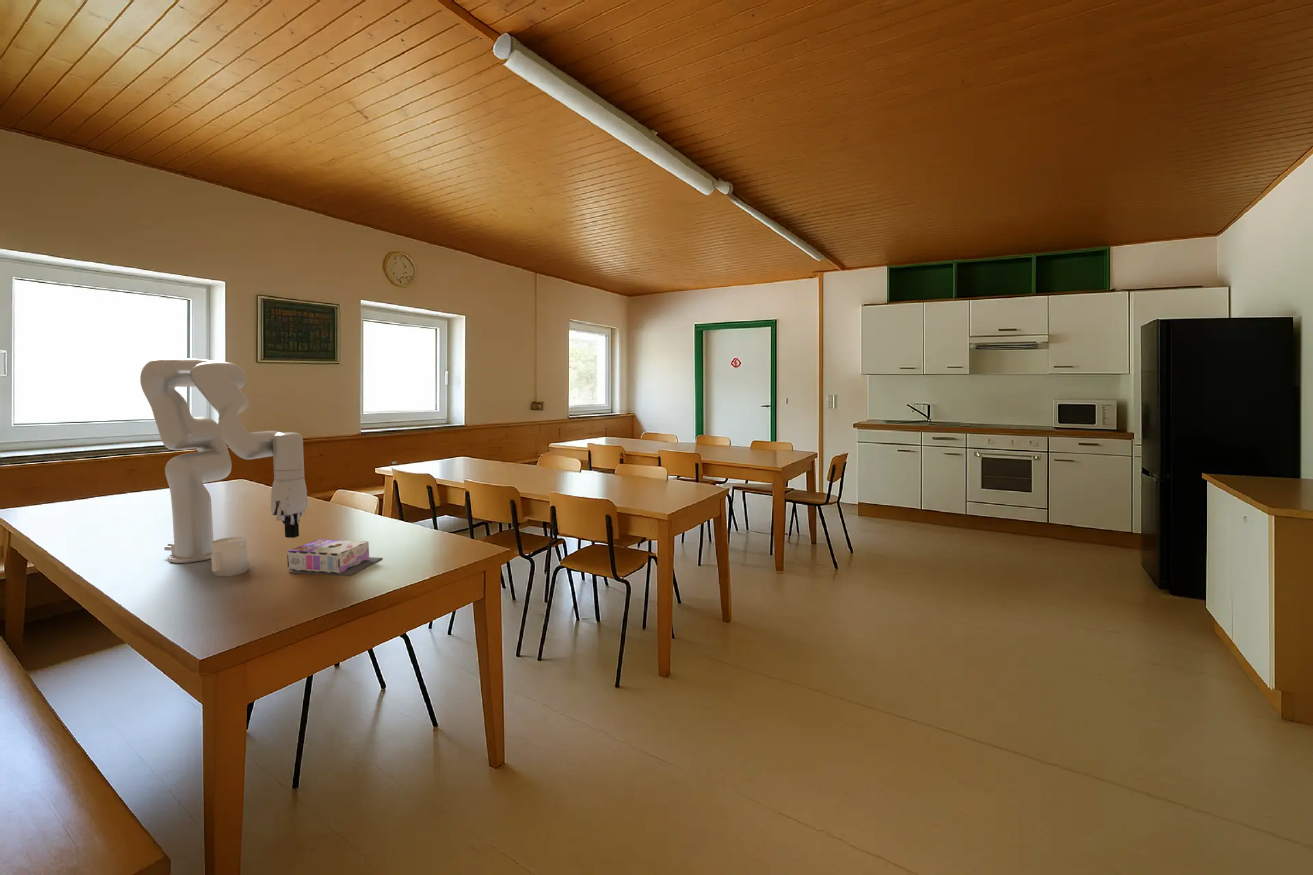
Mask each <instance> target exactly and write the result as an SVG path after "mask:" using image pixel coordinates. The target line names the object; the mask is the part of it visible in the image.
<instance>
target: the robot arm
mask: <svg viewBox="0 0 1313 875" xmlns="http://www.w3.org/2000/svg"><path fill="white" fill-rule="evenodd" d="M139 378H140V383H139V384H140V386H141V387H140V388H141V390H142V392H143V393H144V396H145V398H146V400H147V402H148V403H149V405H150V408H151V411H152V414H153V418H154V421H155V423H156V427H157V430H158V433H159V436H160V439H161V442H162V444H163V446H164V447H165V448H167V449H168V450H172V451H184V450H185V451H186V450H193V449H196V450H197V452H189V453H183V454H179V455H175V456H173V457H172V458H171V459H169V460H168V461H167V463H166V464H165V467H164V474H165V477H166V480H167V481H166V482H167V485H168V487H169V488H168V489H169V492H170V493H169V494H170V502H171V513H172V515H171V516H172V528H173V529H172V530H173V531H172V532H173V542H168V543H167V544H166V545H165V546H164V548H163V549H164V551H169V552H170V551H171V554H170V555H169V556H168V561H169V562H170V563H174V564H185V563H186V564H187V563H189V564H190V563H195V562H204V561H207V560H211V553H213V548H212V542H213V541H215V540H214V526H213V524H214V523H213V522H214V521H213V509H212V505H213V504H212V497H211V495H210V494H211V493H210V492H209V491H208V489H207V488H206V486H205V484H206V483H210V482H216V481H222V480H223V479H226V478H227V477H228V476H229V475H230V473H231V472H232V459H231V456H230V452H229V450H231V451H232V453H234V454H235V455H236V457H237V456H238V457H239V458H241V459H242V460H243V459H244V460H255V459H262V458H268V457H269V458H270V457H273V458H272V459H273V475H274V476H273V479H274V481H273V482H272V485H271V493H270V512H271V515H272V516H276V521H279V522H282V524H283V525H284V537H285V538H287V539H296V538H297V537H298V538H299V536H300V527H299V523H300V521H301V517H302V515H304V514H306V513H305V512H306V510H307V509H308V504H309V503H308V502H309V500H308V489H307V484H306V479H305V463H304V461H305V460H304V459H305V457H304V439H303V435H302V434H301V433H299V432H292V431H291V432H289V431H288V432H281V431H277V430H264V431H252V432H249V431H248V430H247V429H246V427H245V426H244V425H243V424H242V422H241V421H240V419H239V417H238V416H239V415H240V414H242V413H243V412H244V411H245V410H246V409H247V408H248V407H249V404H250V400H249V398H248V397H247V395H246V394H245V393H244V392H243V391H242V388H243V387H244V386H245V385H246V381H247V376H246V374H245V371H244V370H243V368H242V367H240V366H239V365H238V364H236V363H233V362H225V361H218V360H211V359H210V360H209V359H201V358H184V357H160V358H155V359H152V360H150V361H148V362H147V363H145V365H144V366H143V368H142V370H141V371H140V376H139ZM177 387H180V388H181V387H183V388H187V387H189V388H190V387H192V388H193V387H195V388H197V390H198V391H199V392H200V393H201V394H202V396H203V397H204V398H205V400H206V401H208V403H209V404H210V405H211V406H212V408H214V410H215V412H217V414H218V419H217V422H216V421H215V420H214V419H212V418H211V417H205V416H197V417H196V416H195V417H193V416H192V414H191V412H190V409H189V404H188V402H187V401H186V399H185V397H183V395H182V394H180V392H179V391H177V390H176V388H177ZM228 448H229V449H228Z"/></svg>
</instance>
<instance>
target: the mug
mask: <svg viewBox="0 0 1313 875" xmlns="http://www.w3.org/2000/svg"><path fill="white" fill-rule="evenodd" d="M212 548H213V553H211V559H210V560H211V572H213V575H214V576H216V577H231V576H237V575H240V574H245V573H247V572H248V571H249V555H248V554H249V552H248V538H247V537H246V536H245V537H244V536H230V537H224V538H219V539H216V540H214V541H213V542H212Z"/></svg>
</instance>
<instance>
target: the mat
mask: <svg viewBox="0 0 1313 875" xmlns="http://www.w3.org/2000/svg"><path fill="white" fill-rule="evenodd" d="M382 560H383V557H370V556H369V560H367V561H364V562H362V563H360V564H358V565H356V566H354V567H352V568H349V569H347V570H345V571H343V572H341V573H327V572H314V571H297V570H290V574H302V575H304V574H305V575H326V576H345V577H346V576H348V577H349V576H350V577H352V576H354V575H356V574H357V573H360V572H362V571H363V570H365V569H367V568H369V567H371V566H372V565H374V564H377V563H378V562H380V561H382Z"/></svg>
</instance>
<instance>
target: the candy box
mask: <svg viewBox="0 0 1313 875" xmlns="http://www.w3.org/2000/svg"><path fill="white" fill-rule="evenodd" d="M369 547H370V546H369V541H365V540H364V541H363V540H346V539H345V540H341V539H320V538H319V539H317V540H314V541H311V542H309V543H306V544H302V545H301V546H298V547H295V548H292V549H289V550H287V551H286V557H287V560H286V561H287V570H288V571H293V570H297V571H314V572H327V573H341V572H343V571H345V570H347V569H349V568H352V567H354V566H356V565H358V564H360V563H362V562H364V561H367V560H369V557H370V548H369Z"/></svg>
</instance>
